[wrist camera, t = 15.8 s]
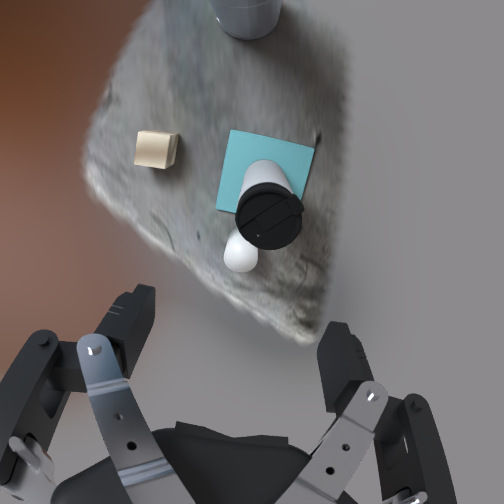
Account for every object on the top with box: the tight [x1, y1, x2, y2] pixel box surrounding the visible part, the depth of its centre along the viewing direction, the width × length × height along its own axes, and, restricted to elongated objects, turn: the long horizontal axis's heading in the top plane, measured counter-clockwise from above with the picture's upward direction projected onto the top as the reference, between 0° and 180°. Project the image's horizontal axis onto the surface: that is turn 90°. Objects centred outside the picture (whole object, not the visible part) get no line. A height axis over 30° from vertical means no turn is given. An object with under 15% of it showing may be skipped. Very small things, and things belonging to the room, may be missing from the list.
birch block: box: [134, 130, 179, 169], centre depth 40 cm, size 5×5×5 cm
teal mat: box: [215, 129, 314, 213], centre depth 44 cm, size 13×13×1 cm
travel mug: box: [235, 159, 304, 250], centre depth 35 cm, size 6×7×20 cm
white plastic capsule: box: [224, 227, 258, 273], centre depth 46 cm, size 5×5×7 cm
